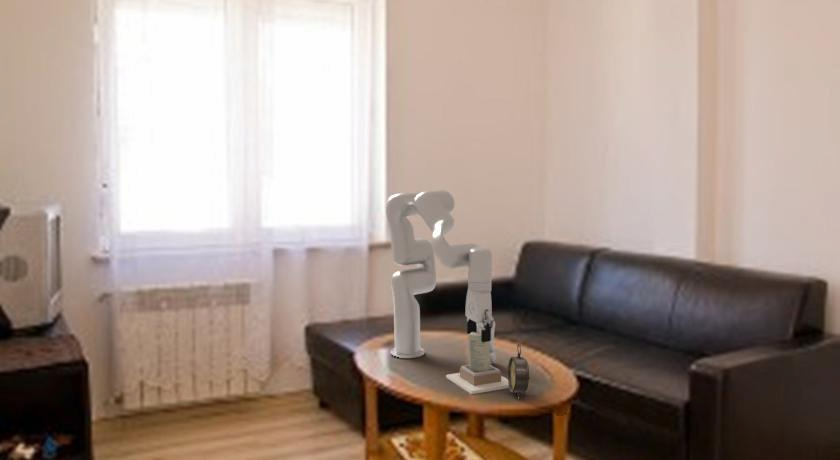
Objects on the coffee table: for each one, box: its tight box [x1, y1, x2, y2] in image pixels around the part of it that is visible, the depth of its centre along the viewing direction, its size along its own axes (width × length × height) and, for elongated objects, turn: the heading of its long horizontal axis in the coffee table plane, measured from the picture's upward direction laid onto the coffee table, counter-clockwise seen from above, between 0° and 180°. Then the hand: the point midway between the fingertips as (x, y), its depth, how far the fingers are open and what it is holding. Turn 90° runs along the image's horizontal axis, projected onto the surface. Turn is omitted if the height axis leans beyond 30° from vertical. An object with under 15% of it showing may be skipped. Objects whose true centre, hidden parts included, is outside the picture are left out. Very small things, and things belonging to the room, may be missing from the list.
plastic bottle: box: [476, 320, 497, 366], centre depth 264 cm, size 6×7×20 cm
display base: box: [445, 364, 509, 395], centre depth 246 cm, size 18×16×5 cm
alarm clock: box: [507, 343, 530, 398], centre depth 232 cm, size 11×5×16 cm, turn 5°
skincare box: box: [467, 331, 490, 372], centre depth 245 cm, size 6×4×12 cm
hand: (478, 337), depth 245 cm, fingers open, 9 cm apart
